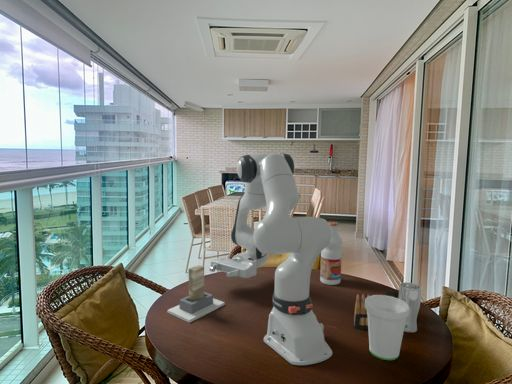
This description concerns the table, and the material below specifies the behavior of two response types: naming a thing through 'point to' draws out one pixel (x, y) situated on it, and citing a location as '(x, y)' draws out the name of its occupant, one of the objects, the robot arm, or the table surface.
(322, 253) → the fruit juice
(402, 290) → the beer glass
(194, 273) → the slat
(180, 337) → the table surface
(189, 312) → the stand
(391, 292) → the dark grey rounded lump
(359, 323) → the ammunition clip
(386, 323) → the cup
